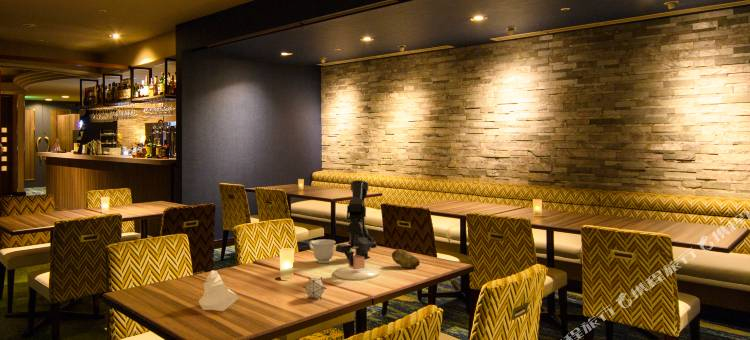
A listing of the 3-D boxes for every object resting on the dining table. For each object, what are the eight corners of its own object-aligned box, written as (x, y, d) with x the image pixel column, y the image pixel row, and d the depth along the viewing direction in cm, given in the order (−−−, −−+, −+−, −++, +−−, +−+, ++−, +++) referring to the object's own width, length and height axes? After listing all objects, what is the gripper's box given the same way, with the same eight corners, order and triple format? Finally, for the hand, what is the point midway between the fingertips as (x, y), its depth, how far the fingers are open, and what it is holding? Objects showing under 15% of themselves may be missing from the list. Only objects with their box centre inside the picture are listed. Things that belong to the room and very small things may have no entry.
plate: (325, 273, 244) (325, 270, 244) (361, 266, 256) (361, 263, 256) (351, 282, 228) (351, 279, 228) (388, 274, 240) (388, 272, 240)
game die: (316, 309, 205) (314, 293, 199) (300, 298, 209) (297, 282, 203) (332, 293, 211) (330, 277, 204) (315, 282, 215) (313, 266, 208)
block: (348, 267, 242) (348, 256, 242) (358, 265, 245) (357, 254, 245) (355, 269, 238) (355, 258, 238) (364, 267, 241) (364, 256, 241)
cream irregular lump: (205, 319, 189) (192, 281, 188) (201, 310, 203) (189, 274, 201) (240, 305, 194) (228, 268, 192) (233, 297, 208) (222, 262, 206)
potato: (410, 270, 247) (410, 253, 246) (389, 266, 255) (389, 249, 254) (421, 267, 253) (421, 250, 252) (400, 263, 261) (400, 246, 261)
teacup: (318, 257, 275) (317, 237, 274) (340, 261, 266) (340, 241, 266) (301, 261, 265) (301, 241, 265) (324, 266, 257) (324, 245, 256)
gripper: (349, 236, 229) (349, 272, 230) (383, 230, 240) (384, 265, 241) (334, 232, 237) (335, 267, 239) (369, 227, 249) (369, 260, 250)
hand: (356, 265), depth 242 cm, fingers closed on block, 5 cm apart
